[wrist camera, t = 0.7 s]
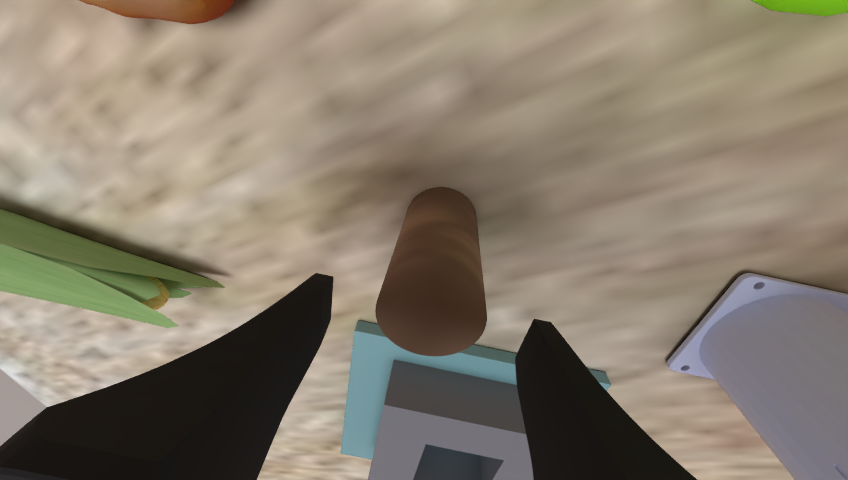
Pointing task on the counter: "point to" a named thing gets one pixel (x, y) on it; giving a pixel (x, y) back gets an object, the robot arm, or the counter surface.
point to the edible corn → (86, 272)
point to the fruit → (167, 9)
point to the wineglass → (807, 6)
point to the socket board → (377, 376)
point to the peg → (435, 278)
